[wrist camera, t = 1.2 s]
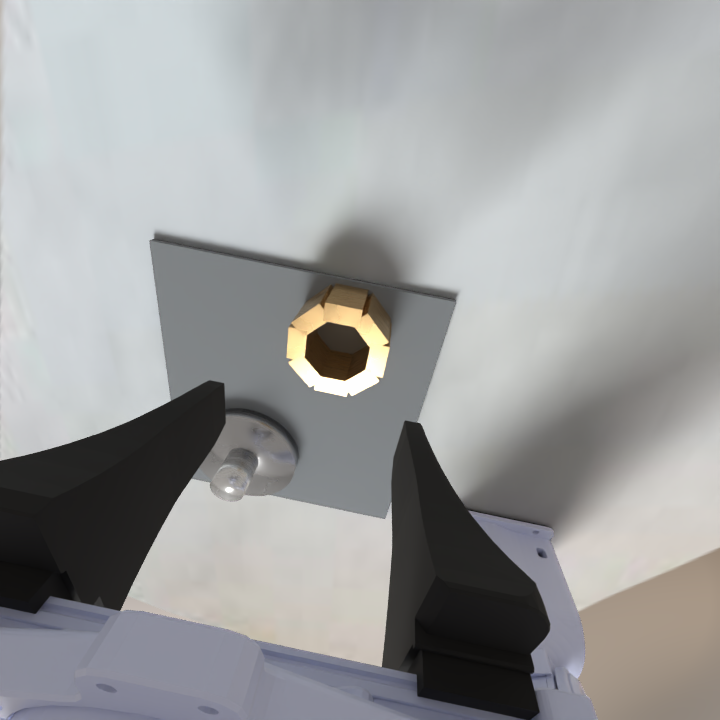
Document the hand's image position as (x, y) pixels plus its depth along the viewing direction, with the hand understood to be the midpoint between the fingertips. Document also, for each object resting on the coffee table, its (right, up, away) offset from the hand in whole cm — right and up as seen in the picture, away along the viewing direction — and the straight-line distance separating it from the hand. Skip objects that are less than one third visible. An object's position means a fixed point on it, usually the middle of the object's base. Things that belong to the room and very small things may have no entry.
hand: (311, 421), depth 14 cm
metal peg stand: (-7, -5, +14) cm, 16 cm away
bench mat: (-3, -1, +12) cm, 12 cm away
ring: (+1, +4, +8) cm, 9 cm away
